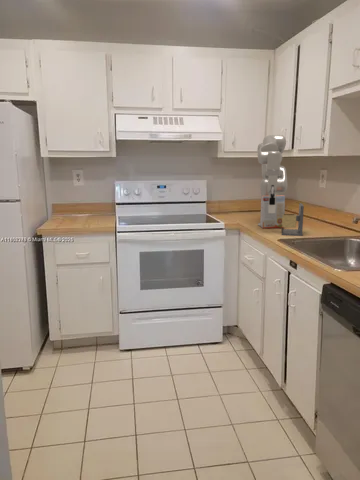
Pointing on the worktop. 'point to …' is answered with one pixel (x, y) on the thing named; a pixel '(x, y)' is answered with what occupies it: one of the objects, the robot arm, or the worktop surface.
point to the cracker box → (272, 218)
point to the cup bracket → (293, 222)
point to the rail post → (272, 206)
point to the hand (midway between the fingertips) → (272, 203)
